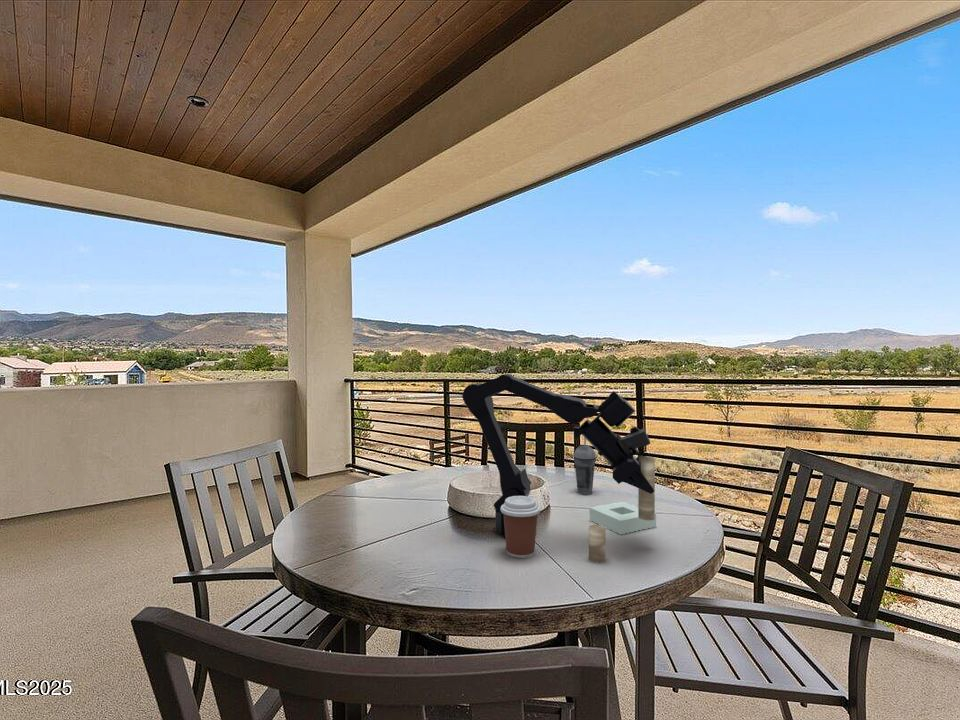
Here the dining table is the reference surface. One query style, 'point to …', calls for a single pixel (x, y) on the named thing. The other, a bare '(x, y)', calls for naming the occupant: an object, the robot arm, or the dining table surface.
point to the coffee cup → (520, 525)
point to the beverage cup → (584, 468)
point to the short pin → (597, 543)
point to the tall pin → (644, 498)
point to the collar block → (620, 518)
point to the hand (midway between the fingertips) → (652, 490)
